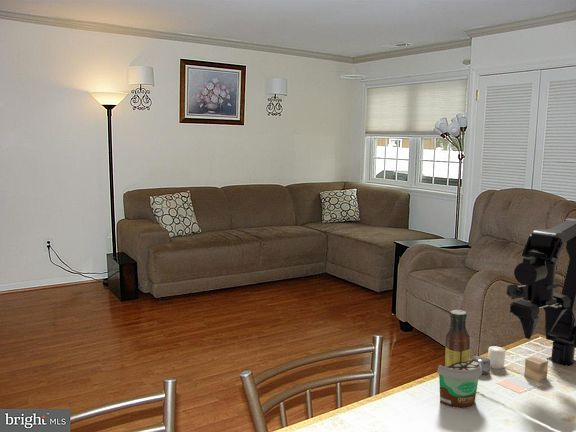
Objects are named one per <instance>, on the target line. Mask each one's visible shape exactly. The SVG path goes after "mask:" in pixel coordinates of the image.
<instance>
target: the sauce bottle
mask: <svg viewBox="0 0 576 432" xmlns="http://www.w3.org/2000/svg"><path fill="white" fill-rule="evenodd" d="M449 317H450V326H449V330H448V331H447V334H446V336H445V344H444V345H445V347H444V348H445V353H444V355H445V356H444V367H447V366H450V365H452V364H454V363H457V362H467V361H470V360H471V338H470V337H471V336H470V334H469V332H468V330H467V326H466V324H467V323H466V319H467V318H468V316H467V312H466V310H461V309H452V310H450V313H449Z"/></svg>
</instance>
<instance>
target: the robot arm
mask: <svg viewBox="0 0 576 432" xmlns="http://www.w3.org/2000/svg"><path fill="white" fill-rule="evenodd" d="M524 246H525V247H524V248H523V250H522V254H521V257H523V258H522V262H520V263H519V264H517V265H516V267H515V268H514V270H513V274H514V278H515V279H516V281H517V282H518V283H519V284H521V285H517V284H516V283H514V284H513V283H512V284H507V286H506V292H505V293H506V296H508V297H509V298H510V299H511V300H515V299H520V300H516V301H513V302H511V303H509V313H511V314H513V315H514V316H516V317H517V318H518V319H519V321H520V323H521V327H522V330H523V331H522V332H523V333H524V338H525V339H527V340H531V338H532V336H533V333H534V331H535V329H536V327H537V323H538V321H539V319H540V316H538V315H539V314H540V309H543V311H544V315H545V320H544V322H545V326H544V330H545V331H544V332H545V339H546V340H547V341H552V347H551V348H552V349H551V356H549V357H546V359H545V360H547V361H551V362H553V363H555V364H558V365H561V366H564V367H570V366H573V365H575V364H576V359H575V351H576V218H574V217H569V218H565V219H564V221H562V222H561V223H558V224H557V225H555V226H553V227H551V228H549V229H546V228H545V229H536V230H533V231H532V232H531V233H530V234H529V236H528V238H527V241H526V243H525V245H524ZM564 247H565V250H566V253H567V254H568V257H569V260H568V264H567V268H566V271H565V276H564V280H563V284H562V285H563V286H562V289H561V293H557V292H555V289H556V288H559V287H558V286H559V283H557V282H555V281H556V269H557V268H556V267H557V261H558V260H559V257H560V254H561V253H562V250H563V249H564ZM522 298H523V300H522ZM528 301H529V302H528Z"/></svg>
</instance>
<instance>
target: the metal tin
mask: <svg viewBox="0 0 576 432" xmlns="http://www.w3.org/2000/svg"><path fill="white" fill-rule="evenodd" d="M473 357H475V358H477V359H478V360H479V361H480V364H481V367H482V374H481V375H480V376H487V375H489V374H490V370H491V367H490V360H489V359H488V357H485V356H482V355H480V356H478V355H476V356H472V357H470V360H472V358H473Z"/></svg>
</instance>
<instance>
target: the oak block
mask: <svg viewBox="0 0 576 432" xmlns="http://www.w3.org/2000/svg"><path fill="white" fill-rule="evenodd" d="M524 361H525V362H524V363H525V364H524V371H523V373H524V377H527V378H529V379H532V380H534V381H537V382H539V381H542V380H544V379H547V378H548V367H549V360H547V359H544V358H542V357H538V356H536V355H533V356H529V357H527V358H525V360H524Z"/></svg>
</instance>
